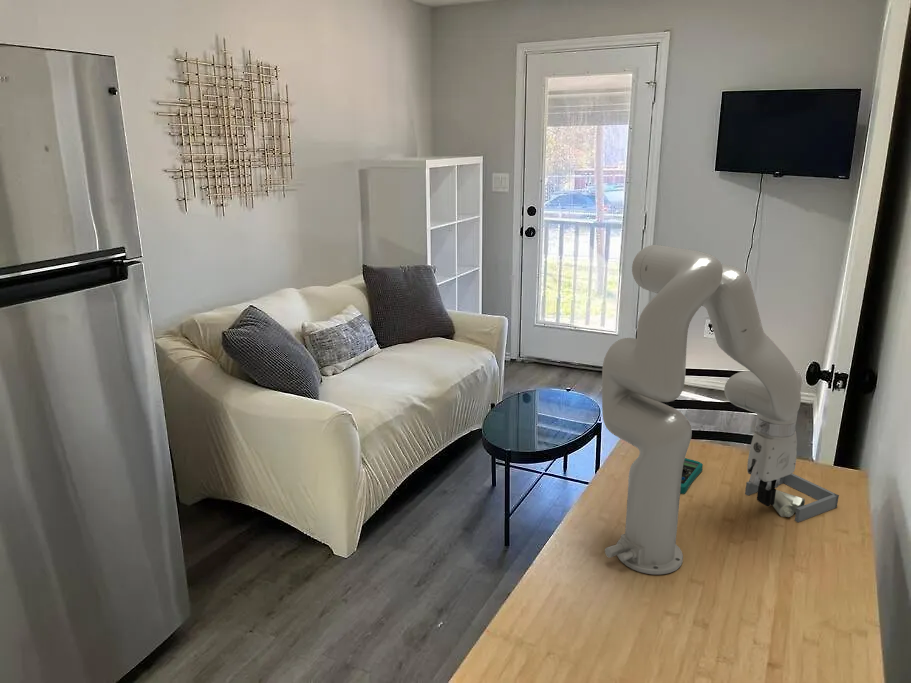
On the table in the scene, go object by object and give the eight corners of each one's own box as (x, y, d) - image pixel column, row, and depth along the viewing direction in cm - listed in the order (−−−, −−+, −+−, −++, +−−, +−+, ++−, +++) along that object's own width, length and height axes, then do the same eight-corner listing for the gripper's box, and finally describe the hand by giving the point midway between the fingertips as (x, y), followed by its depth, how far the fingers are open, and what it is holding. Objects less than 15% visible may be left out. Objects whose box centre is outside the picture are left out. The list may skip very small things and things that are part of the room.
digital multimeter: (652, 488, 156) (653, 477, 155) (673, 464, 167) (674, 453, 166) (683, 497, 151) (684, 486, 151) (702, 472, 163) (703, 461, 162)
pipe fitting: (792, 524, 140) (803, 510, 145) (794, 509, 139) (805, 495, 144) (754, 511, 146) (766, 497, 150) (755, 495, 145) (767, 482, 149)
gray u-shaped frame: (797, 522, 140) (799, 509, 139) (744, 493, 152) (746, 482, 151) (836, 507, 145) (838, 495, 144) (782, 481, 157) (784, 469, 156)
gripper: (766, 439, 133) (755, 520, 138) (815, 425, 139) (803, 502, 144) (735, 426, 139) (727, 503, 144) (783, 413, 146) (773, 487, 151)
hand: (765, 502), depth 144 cm, fingers closed
